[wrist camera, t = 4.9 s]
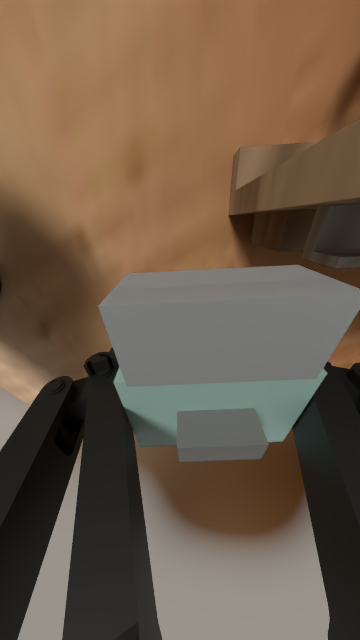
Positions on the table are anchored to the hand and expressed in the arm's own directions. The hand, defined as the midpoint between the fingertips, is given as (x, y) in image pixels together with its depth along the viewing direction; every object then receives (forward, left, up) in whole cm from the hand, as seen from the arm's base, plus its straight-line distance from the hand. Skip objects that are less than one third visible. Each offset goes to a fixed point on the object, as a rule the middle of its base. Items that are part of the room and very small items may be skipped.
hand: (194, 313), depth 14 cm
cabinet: (0, +1, 0) cm, 1 cm away
